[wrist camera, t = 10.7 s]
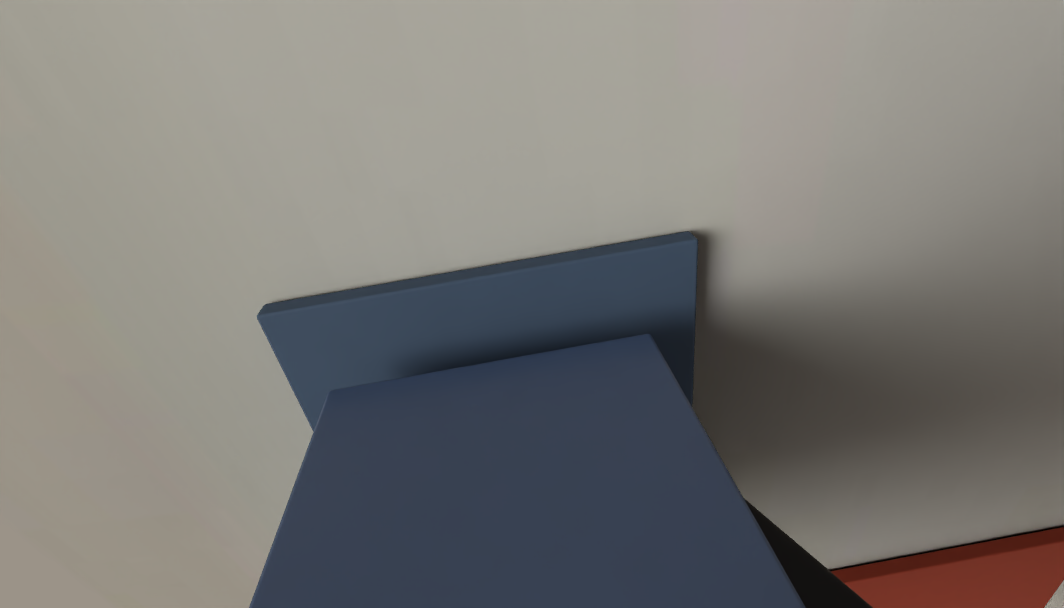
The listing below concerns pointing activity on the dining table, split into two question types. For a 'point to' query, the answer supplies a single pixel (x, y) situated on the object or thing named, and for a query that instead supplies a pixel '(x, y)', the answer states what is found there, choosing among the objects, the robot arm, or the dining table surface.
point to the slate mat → (490, 316)
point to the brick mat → (966, 575)
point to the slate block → (520, 494)
